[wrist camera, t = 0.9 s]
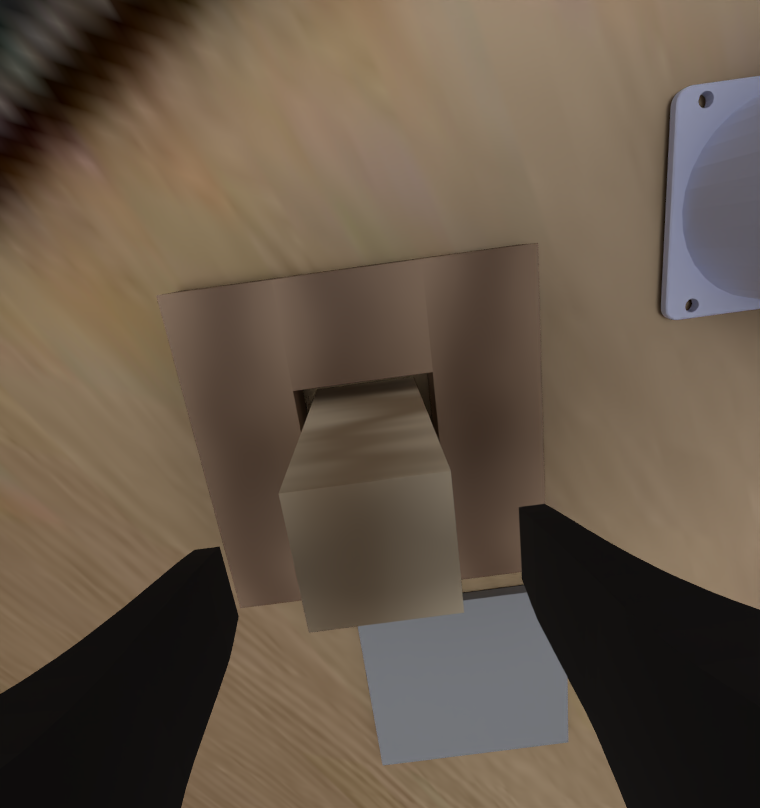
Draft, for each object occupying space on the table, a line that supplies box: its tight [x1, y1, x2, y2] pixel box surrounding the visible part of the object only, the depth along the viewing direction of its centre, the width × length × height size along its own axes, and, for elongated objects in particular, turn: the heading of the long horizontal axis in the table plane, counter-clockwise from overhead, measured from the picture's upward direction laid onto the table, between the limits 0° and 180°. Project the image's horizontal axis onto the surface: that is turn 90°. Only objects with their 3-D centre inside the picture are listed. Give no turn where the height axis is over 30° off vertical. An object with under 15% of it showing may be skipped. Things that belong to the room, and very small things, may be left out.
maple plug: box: [279, 377, 464, 633], centre depth 16 cm, size 4×4×9 cm
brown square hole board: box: [157, 243, 545, 608], centre depth 19 cm, size 13×13×2 cm
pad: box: [358, 585, 568, 765], centre depth 24 cm, size 10×10×1 cm
